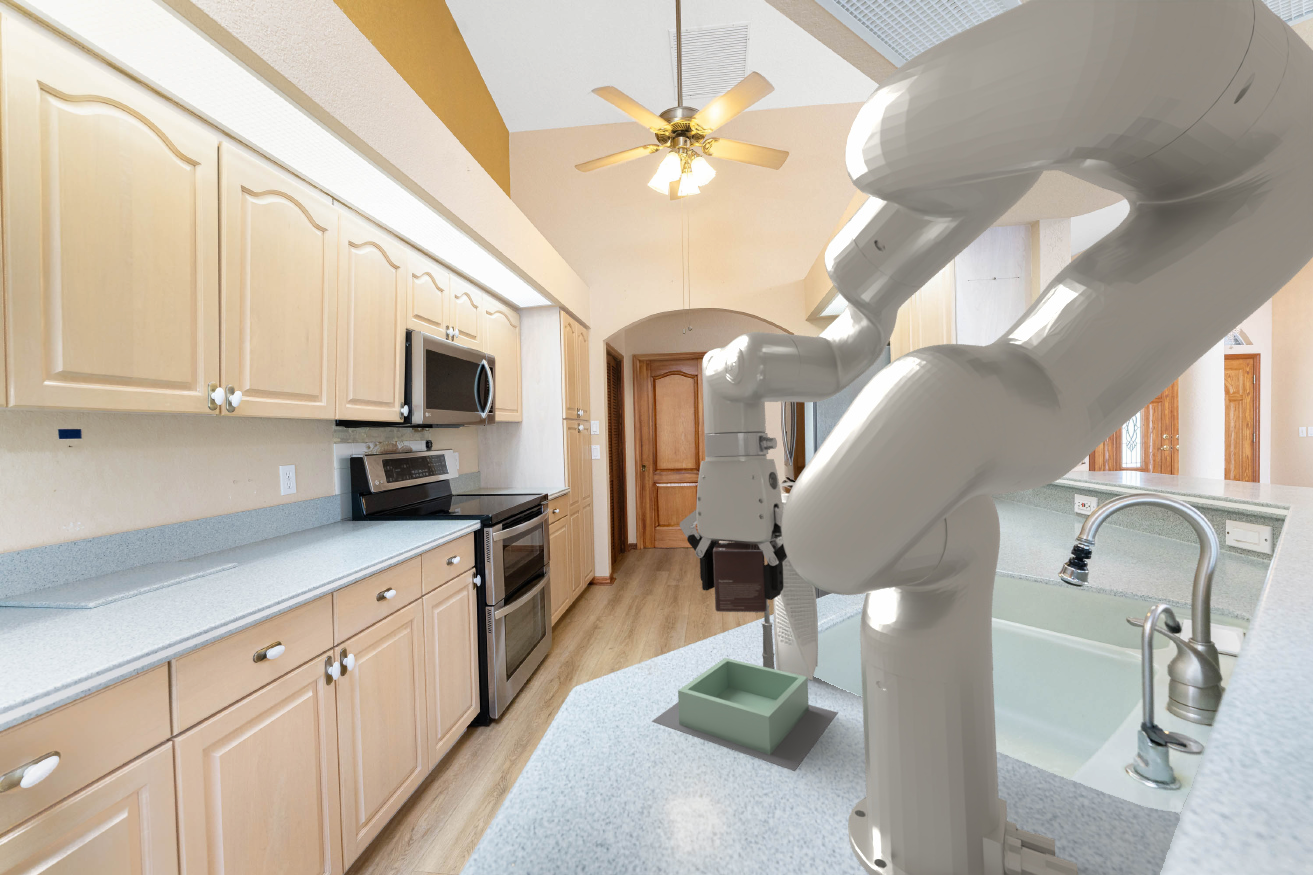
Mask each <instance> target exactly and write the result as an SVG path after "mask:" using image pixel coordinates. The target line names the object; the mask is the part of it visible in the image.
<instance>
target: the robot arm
mask: <svg viewBox="0 0 1313 875" xmlns="http://www.w3.org/2000/svg"><path fill="white" fill-rule="evenodd" d="M844 154H845V155H844V156H845V161H844V164H845V168H846V172H847V176H848V177H849V179H850V182H852V185H853V186H855V188H856V189H857V190H859V191H860V192H861V193H863V194H864V195H867V196H868V197H867V199H866V200H864V202H863V203H862V204H861V206H859V208H858V209H857V211H856V212H855V213H854V214H852V216H851V217H850V218H849V220H848V221H847V222H846V223H845V224H844V225H843V226H842V228H841V229H840V230H839V231H838V232H837V233H836V235H834V237H833V238H832V239H831V240H830V241H829V243H828V245H827V246H826V248H825V249H826V250H825V253H824V258H823V259H824V267H825V270H826V273H827V275H828V278H829V279H830V281H831V283H832V285H833V286H834V288H835V289H836V290H837V292H838V293H839V295H840V296H842V298H843V299H844V300H845V301H846V302H847V305H846V306H845V308H844V309H843V311H841V313H840V314H839V315H838V316H837V317H836V318H835V320H833V321H832V322H831V323H830V324H829V325H828V326H827V327H826V328H825V329H824V330H823V331H821V333H820V334H818V335H817V336H811V335H810V336H809V335H800V334H789V333H774V332H773V333H772V332H764V331H762V332H760V331H752V332H746V333H744V334H741V335H739V336H738V337H735V338H734V339H733V340H731V342H729V343H728V344H727V345H726V346H722V347H717V348H714V349H711V350H709V351H707V352H706V353H705V354H704V355H703V358H702V361H701V369H702V371H701V372H702V374H701V375H702V398H703V422H704V423H703V425H704V427H703V428H704V455H705V456H704V458H705V460H701V463H700V466H699V472H698V479H697V490H696V509H695V510H693V512H691V513H690V514H688V515H687V516H686V517H685V518H684V519H683V520H681V521H680V522H679V527H680V530H681V531H682V532H683V534H684V536H685V537H686V538H687V542H688V543H689V545H690V546H691V548H692V549H693V550H694V551H695V552H694V554H695V556H696V557H697V558H699V572H700V573H699V574H700V575H699V576H700V578H699V579H700V581H701V588H702V591H705V592H706V591H710V590H711V589H715V588H714V564H713V550H714V549H715V546H716V545H717V544H718V543H720V542H724V543H725V542H738V543H750V544H758V546H759V547H760V549H761V550H763V554H764V559H765V560H766V561H767V564H765V566H764V591H765V598H766V599H767V600H769V601H772V600H774V598H776V597H777V596H779V595H780V594H781V591H782V590H783V586H784V584H783V561H785V560H786V558H787V557H788V559H789V561H790V563H791V565H792V566H793V568H794V569H795V571H796V572H797V573H798V574H799V575H800V576H801V577H802V578H803V579H804V580H806V581H807V582H808V583H810V584H811V585H813V586H814V587H815V589H816V588H817V589H819V590H820V591H824V592H826V593H830V594H834V595H841V596H842V595H843V596H855V595H862V594H865V597H864V600H863V601H864V602H863V605H862V609H861V610H862V611H861V617H860V631H859V633H860V634H859V636H860V637H859V640H860V671H861V673H860V674H861V694H862V696H861V697H862V698H861V699H862V700H861V701H862V718H863V720H862V722H863V740H864V741H863V742H864V768H865V769H864V770H865V771H864V772H865V774H864V775H865V792H866V795H865V797H864V798H862V799H861V800H859V801H858V802H857V803H856V804H855V805H854V806H853V807H852V809H851V811H850V813H849V816H848V823H847V832H848V842H849V844H850V848H851V851H852V853H853V855H854V856H855V858H856V860H857V861H858V863H859V864H860V866H861V867H862V869H863V870H864V871H866V873H867V874H868V875H1079V873H1078V871H1079V870H1078V863H1076V862H1073V861H1070V860H1067V859H1064V858H1061V857H1058V856H1056V853H1057V852H1056V839H1055V838H1051V837H1048V836H1045V835H1043V834H1040V833H1036V832H1034V833H1033V832H1030V831H1026V830H1023V829H1021V828H1019V827H1018V825H1017V823H1015V822H1013V821H1009V820H1008V806H1007V803H1008V802H1007V801H1006V800H1005V799H1003V798H1000V796H999V777H998V775H999V774H998V755H997V754H998V753H997V736H996V735H997V733H996V714H995V713H996V712H995V711H996V710H995V693H994V691H995V690H994V672H993V671H994V656H993V630H992V629H993V628H992V627H993V625H992V623H993V600H994V598H993V596H994V589H995V588H994V587H995V581H996V573H997V567H998V560H999V553H1000V545H1001V544H1000V543H1001V525H1000V524H1001V523H1000V518H999V513H998V510H997V507H996V504H995V501H994V500H993V497H992V496H993V495H1002V494H1009V493H1011V494H1012V493H1017V492H1019V493H1020V492H1025V491H1030V490H1035V489H1037V488H1040V487H1044V486H1047V485H1051V484H1052V483H1055V482H1057V481H1059V480H1060V479H1061V478H1063V477H1065V476H1066V475H1067V474H1069V473H1070V472H1071V471H1073V469H1075V468H1076V467H1077V466H1079V465H1080V464H1081V463H1082V462H1083V461H1084V460H1085V459H1086V458H1087V457H1088V456H1089V455H1091V454H1092V453H1093V452H1094V451H1095V450H1096V449H1097V448H1098V447H1099V446H1100V445H1101V444H1103V443H1104V442H1105V441H1106V440H1107V439H1108V438H1110V437H1111V436H1113V434H1115V433H1116V432H1117V431H1119V429H1121V428H1122V427H1123V426H1124V425H1125V424H1126V423H1128V421H1130V420H1132V419H1133V418H1134V416H1136V415H1137V414H1138V413H1140V412H1141V411H1142V410H1143V409H1144V408H1146V406H1148V405H1149V404H1150V403H1151V402H1152V401H1154V400H1155V399H1156V398H1158V396H1160V395H1161V394H1162V393H1163V392H1164V391H1165V390H1166V389H1167V390H1168V388H1169V387H1170V386H1171V385H1172V384H1174V383H1175V381H1177V380H1178V379H1179V378H1180V377H1181V376H1182V375H1183V374H1184V373H1185V372H1186V371H1187V370H1189V368H1191V367H1192V366H1193V365H1194V364H1195V363H1197V362H1198V361H1199V360H1201V358H1202V357H1203V356H1204V355H1206V354H1207V352H1210V350H1211V349H1213V348H1214V347H1215V346H1216V345H1217V344H1218V343H1219V342H1221V341H1222V340H1223V339H1225V337H1227V336H1228V335H1229V334H1230V333H1231V332H1233V331H1234V330H1235V329H1236V328H1237V327H1238V326H1240V325H1241V324H1242V323H1243V322H1244V321H1246V320H1247V319H1248V318H1249V317H1251V316H1252V315H1253V314H1254V313H1255V312H1256V311H1257V310H1258V309H1260V308H1261V307H1262V306H1263V305H1264V304H1266V303H1267V302H1268V301H1269V300H1271V299H1272V298H1273V297H1274V296H1275V295H1276V294H1277V293H1279V291H1280V290H1281V289H1282V288H1284V287H1285V286H1286V285H1287V284H1288V283H1289V282H1291V280H1292V279H1293V278H1294V277H1295V276H1297V274H1298V273H1300V272H1301V271H1302V269H1303V268H1304V267H1306V266H1307V264H1308V263H1309V262H1310V261H1311V260H1312V259H1313V49H1312V48H1311V47H1310V45H1309V44H1307V42H1305V40H1304V39H1303V38H1302V37H1301V36H1300V35H1299V34H1298V33H1297V32H1296V31H1295V30H1294V29H1293V28H1292V27H1291V26H1290V24H1288V23H1287V22H1286V21H1285V20H1283V18H1281V17H1280V16H1279V15H1277V14H1276V13H1274V11H1272V10H1271V8H1270V7H1269V6H1268V5H1267V4H1266V3H1265V2H1264V1H1263V0H1028V1H1025V2H1023V3H1021V4H1019V5H1016V6H1015V7H1013V8H1010V9H1008V10H1006V11H1004V12H1002V13H999V14H997V15H994V16H993V17H991V18H989V19H986V20H984V21H981V22H980V23H977V24H976V25H974V26H973V25H972V26H971V27H969V28H966V29H965V30H963V31H961V32H958V33H956V34H954V35H952V36H950V37H948V38H946V39H944V40H942V41H940V42H939V43H937V44H935V45H933V46H931V47H929V48H927V49H926V50H923V51H922V52H920V53H918V54H917V55H915V56H914V57H911V59H909V60H907V62H905V63H903V64H902V65H901V66H900V67H898V68H897V69H895V70H894V71H893V72H892V73H891V74H889V75H888V76H887V77H886V78H885V79H884V80H883V81H882V82H881V83H880V84H879V85H878V86H877V87H876V89H875V90H874V91H873V92H872V93H871V94H870V95H869V96H868V97H867V99H866V101H865V102H864V104H862V106H861V108H860V109H859V111H858V113H857V115H856V116H855V119H854V120H853V122H852V125H851V128H850V131H849V133H848V136H847V140H846V146H845V151H844ZM1049 171H1050V172H1051V171H1058V172H1062V173H1065V174H1067V175H1070V176H1072V177H1074V178H1077V179H1079V180H1081V181H1084V182H1086V183H1089V184H1091V185H1094V186H1097V187H1099V188H1102V189H1105V190H1108V191H1110V192H1113V193H1116V194H1119V195H1121V196H1122V197H1123V198H1125V200H1126V201H1127V204H1128V205H1129V211H1128V214H1127V215H1126V217H1125V218H1124V219H1123V220H1122V221H1121V222H1120V223H1119V225H1117V227H1115V228H1114V229H1112V231H1110V232H1109V233H1107V234H1106V235H1105V236H1103V237H1102V238H1100V239H1099V240H1097V241H1095V243H1093V244H1092V245H1090V246H1089V247H1088V248H1086V249H1085V250H1084V251H1082V252H1081V253H1079V254H1078V255H1077V256H1076V257H1075V258H1074V259H1073V260H1072V261H1070V262H1069V263H1068V264H1067V265H1066V266H1065V267H1063V268H1062V269H1061V271H1059V272H1058V274H1056V275H1055V276H1054V278H1052V280H1051V281H1050V282H1049V283H1048V284H1047V286H1046V287H1045V288H1044V289H1043V290H1042V291H1041V293H1040V294H1039V295H1038V296H1037V298H1036V299H1035V300H1034V302H1033V303H1031V305H1030V306H1029V308H1027V309H1026V310H1025V312H1023V314H1022V315H1021V316H1020V317H1019V318H1018V319H1017V320H1016V321H1015V323H1013V324H1012V325H1011V326H1010V327H1009V328H1008V329H1007V330H1006V331H1005V332H1004V333H1003V334H1002V335H1001V336H999V337H998V338H997V339H996V340H994V341H993V342H991V343H990V344H987V345H976V344H962V343H944V344H936V345H935V344H934V345H927V346H923V347H921V348H917V349H915V350H913V351H910V352H907V353H905V354H903V355H901V356H899V357H898V358H896V359H895V360H894V359H893V361H892V362H891V361H890V362H889V364H887V365H886V366H884V367H883V368H881V370H879V371H878V372H877V373H876V374H875V375H873V376H872V378H870V379H869V381H868V382H866V383H865V385H864V386H863V387H862V389H861V390H860V392H859V393H857V395H856V396H855V398H854V399H853V400H852V402H851V403H850V404H849V406H848V407H847V409H846V410H845V412H844V413H843V414H842V415H841V417H840V418H839V420H838V421H837V423H836V424H835V425H834V427H833V428H832V430H831V431H830V432H829V434H828V435H827V436H826V437H825V438H824V440H823V442H822V443H821V445H820V446H819V447H818V449H817V450H816V451H815V453H814V454H813V455H812V457H811V458H810V460H809V461H808V463H807V464H806V465H805V467H804V468H803V469H802V470H801V473H800V474H799V475H798V477H797V479H796V480H795V482H794V485H792V487H791V489H790V491H789V493H788V494H789V496H788V498H787V500H786V504H785V507H784V511H783V504H782V496H781V494H782V491H781V487H780V484H781V483H780V479H779V475H778V469H777V466H776V463H775V459H774V458H768V456H767V455H769V451H770V450H775V449H777V446H778V441H777V437H770V436H768V435H769V434H768V432H767V426H766V425H767V424H766V403H779V402H780V403H781V402H783V403H784V402H786V403H787V402H789V403H816V402H817V403H818V402H822V401H825V400H827V399H830V398H832V397H834V396H836V395H837V394H839V393H841V391H844V390H845V389H846V388H847V387H849V386H850V385H852V384H853V383H854V382H855V381H856V380H858V379H859V378H860V377H861V376H862V375H864V373H866V372H867V371H869V370H870V369H871V367H873V366H874V365H875V364H876V362H878V360H880V358H881V356H882V355H883V353H884V352H885V350H886V348H887V346H888V343H889V342H890V339H891V337H892V335H893V332H894V331H895V326H896V322H897V320H898V319H897V317H898V311H899V310H900V308H901V307H902V306H903V304H905V303H906V302H907V301H908V300H909V299H910V298H912V297H913V296H914V295H915V294H916V293H918V292H919V291H920V290H921V288H922V287H924V286H925V285H926V284H928V282H929V281H931V279H933V278H934V277H935V276H936V275H937V274H938V273H939V272H941V271H942V270H943V268H945V267H947V265H948V264H950V263H951V262H952V261H953V260H954V259H955V258H957V256H959V255H960V254H961V253H962V252H964V250H965V249H966V248H968V247H970V245H971V244H972V243H973V242H974V241H976V240H977V239H979V237H980V236H981V235H982V234H984V233H985V232H986V231H988V229H989V228H991V227H992V226H993V225H994V224H995V223H996V222H997V221H998V220H999V219H1001V218H1002V217H1003V216H1004V215H1005V214H1006V213H1008V212H1009V210H1011V209H1012V208H1013V207H1014V206H1015V205H1017V203H1018V202H1020V200H1021V199H1022V198H1023V197H1025V195H1027V194H1028V193H1029V191H1030V190H1031V189H1032V188H1033V187H1034V185H1035V184H1037V182H1038V181H1039V179H1040V178H1041V176H1042V174H1044V172H1049ZM696 528H697V529H696ZM781 536H782V541H783V544H782V545H780V543H779V542H778V540H777V538H779V537H781Z"/></svg>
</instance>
